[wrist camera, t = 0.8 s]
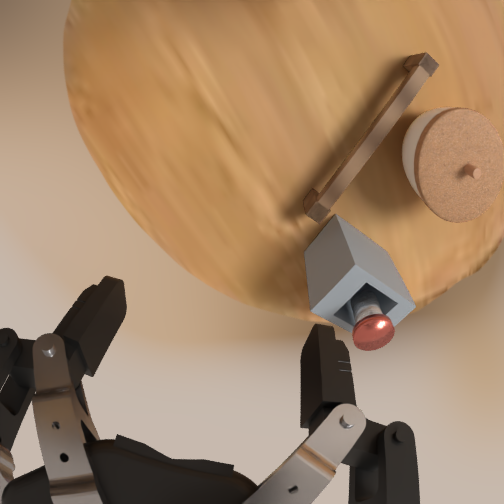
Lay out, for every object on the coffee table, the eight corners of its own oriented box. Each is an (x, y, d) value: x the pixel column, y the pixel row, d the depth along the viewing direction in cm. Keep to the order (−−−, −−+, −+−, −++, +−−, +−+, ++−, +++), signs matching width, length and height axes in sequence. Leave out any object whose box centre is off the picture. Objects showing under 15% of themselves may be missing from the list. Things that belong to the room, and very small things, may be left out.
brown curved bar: (410, 55, 25) (426, 52, 21) (422, 66, 25) (439, 64, 21) (302, 200, 36) (305, 214, 32) (315, 209, 37) (319, 224, 33)
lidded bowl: (467, 188, 32) (512, 222, 23) (392, 200, 35) (426, 241, 25) (461, 100, 26) (514, 111, 17) (379, 105, 29) (419, 112, 20)
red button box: (335, 213, 37) (355, 264, 26) (387, 251, 39) (416, 306, 28) (300, 256, 40) (305, 316, 30) (352, 288, 42) (368, 348, 32)
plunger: (363, 279, 29) (375, 314, 24) (388, 295, 30) (402, 330, 25) (337, 304, 31) (344, 341, 26) (363, 319, 32) (372, 355, 27)
